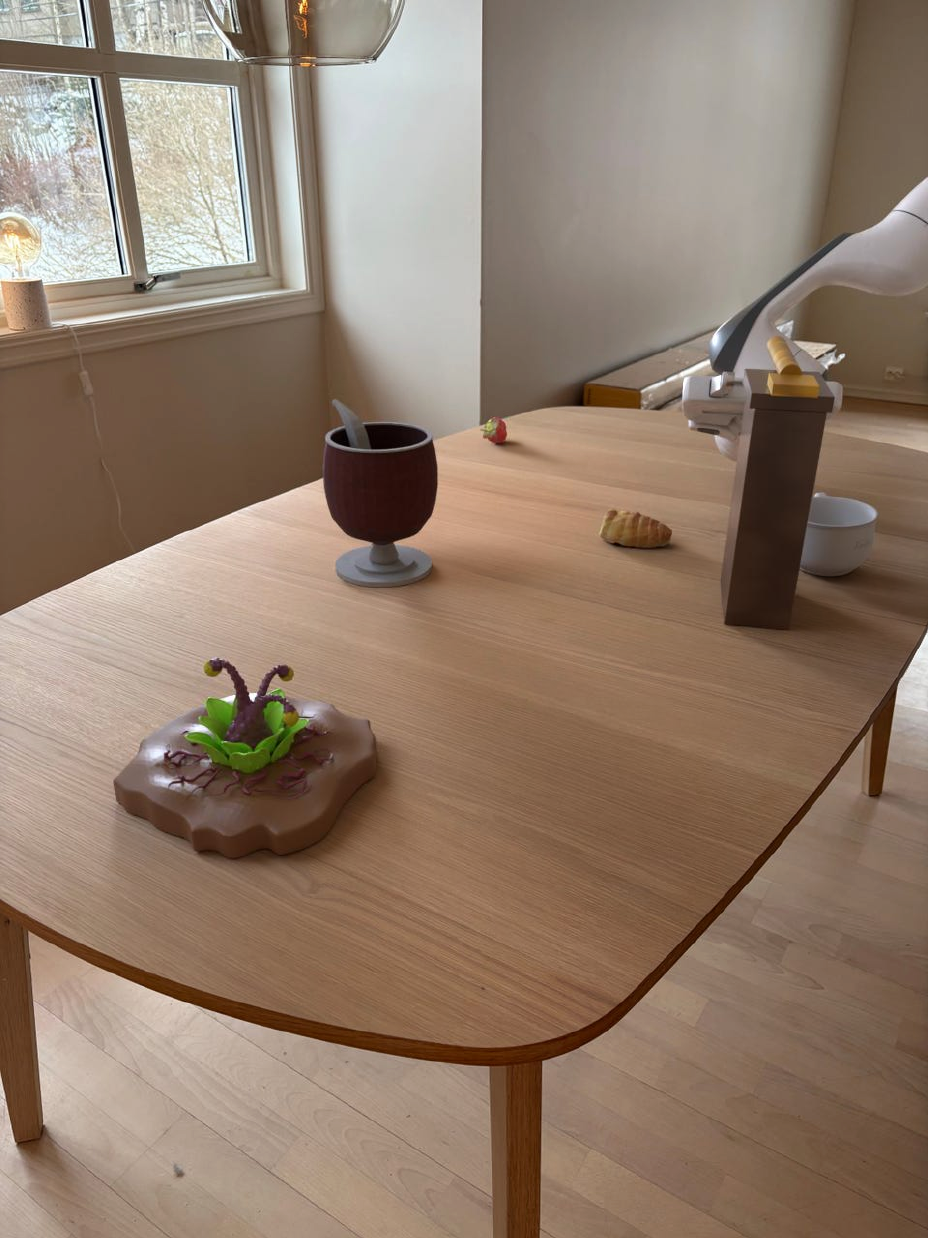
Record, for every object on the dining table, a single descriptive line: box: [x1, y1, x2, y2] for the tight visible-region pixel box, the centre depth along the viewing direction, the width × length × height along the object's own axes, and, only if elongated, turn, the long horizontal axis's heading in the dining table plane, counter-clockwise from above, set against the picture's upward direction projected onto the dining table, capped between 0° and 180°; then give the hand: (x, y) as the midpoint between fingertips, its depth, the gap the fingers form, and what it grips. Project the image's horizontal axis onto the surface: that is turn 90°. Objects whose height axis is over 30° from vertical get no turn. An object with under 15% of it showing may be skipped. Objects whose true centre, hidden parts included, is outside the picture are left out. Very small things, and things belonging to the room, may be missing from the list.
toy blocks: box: [767, 336, 819, 398], centre depth 103 cm, size 4×22×2 cm, turn 168°
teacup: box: [799, 492, 879, 577], centre depth 121 cm, size 14×11×8 cm
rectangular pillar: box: [720, 369, 835, 631], centre depth 106 cm, size 8×12×26 cm, turn 168°
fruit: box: [479, 416, 508, 444], centre depth 171 cm, size 4×6×5 cm
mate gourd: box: [322, 398, 439, 588], centre depth 117 cm, size 16×14×20 cm
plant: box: [113, 657, 378, 859], centre depth 78 cm, size 20×20×11 cm
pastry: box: [598, 508, 673, 549], centre depth 129 cm, size 9×7×4 cm
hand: (767, 379), depth 119 cm, fingers open, 8 cm apart
